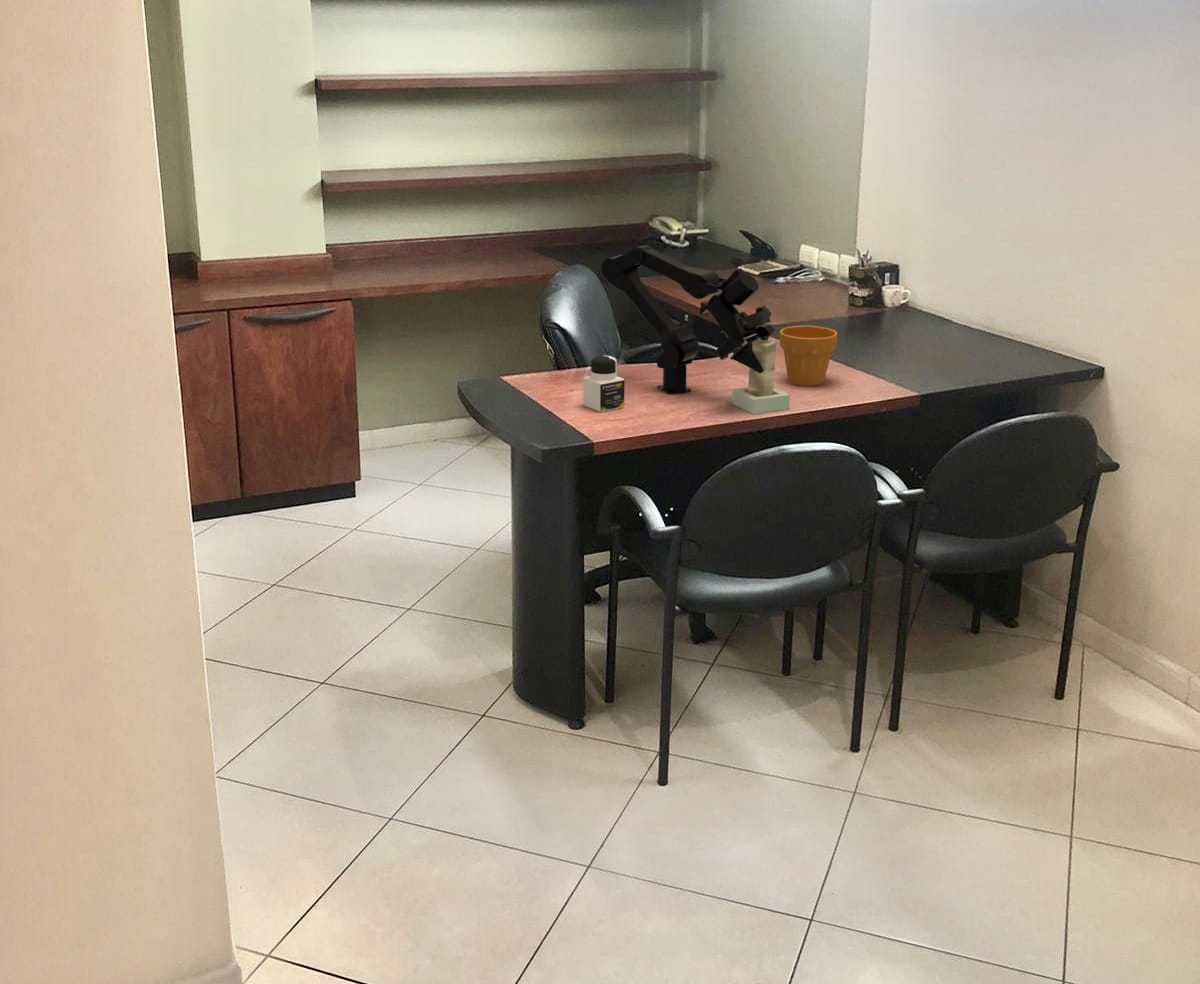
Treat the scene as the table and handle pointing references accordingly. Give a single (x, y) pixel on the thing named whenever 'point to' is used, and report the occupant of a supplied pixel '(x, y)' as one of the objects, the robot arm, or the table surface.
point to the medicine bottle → (603, 385)
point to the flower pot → (807, 353)
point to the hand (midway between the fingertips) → (767, 370)
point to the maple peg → (763, 381)
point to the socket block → (760, 401)
